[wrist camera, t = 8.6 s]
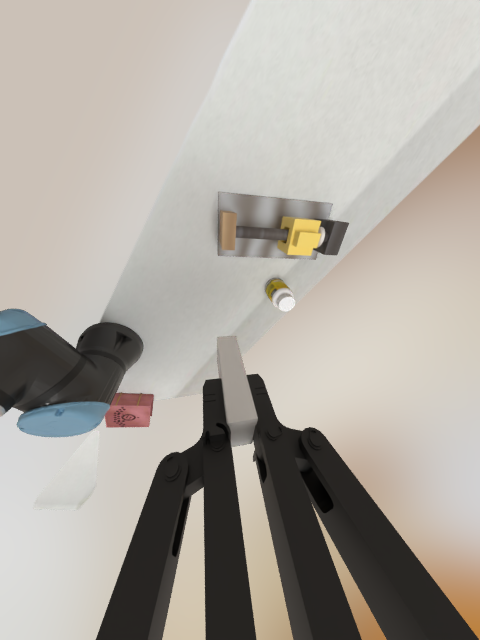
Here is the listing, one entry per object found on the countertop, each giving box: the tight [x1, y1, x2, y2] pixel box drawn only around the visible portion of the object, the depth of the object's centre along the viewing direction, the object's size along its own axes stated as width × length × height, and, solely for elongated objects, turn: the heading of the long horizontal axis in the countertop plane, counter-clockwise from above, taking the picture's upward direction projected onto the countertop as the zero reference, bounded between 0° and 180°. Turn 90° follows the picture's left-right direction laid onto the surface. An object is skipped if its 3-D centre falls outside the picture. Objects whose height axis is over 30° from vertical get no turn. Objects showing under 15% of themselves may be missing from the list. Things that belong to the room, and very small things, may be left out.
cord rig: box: [218, 192, 349, 260], centre depth 36 cm, size 25×12×9 cm, turn 86°
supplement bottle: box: [265, 278, 295, 311], centre depth 44 cm, size 5×5×10 cm
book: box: [105, 393, 154, 427], centre depth 65 cm, size 14×15×5 cm
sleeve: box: [277, 216, 321, 256], centre depth 34 cm, size 5×6×8 cm
